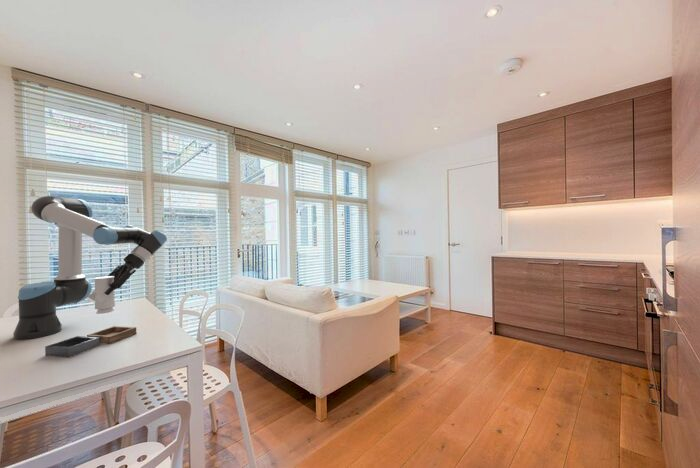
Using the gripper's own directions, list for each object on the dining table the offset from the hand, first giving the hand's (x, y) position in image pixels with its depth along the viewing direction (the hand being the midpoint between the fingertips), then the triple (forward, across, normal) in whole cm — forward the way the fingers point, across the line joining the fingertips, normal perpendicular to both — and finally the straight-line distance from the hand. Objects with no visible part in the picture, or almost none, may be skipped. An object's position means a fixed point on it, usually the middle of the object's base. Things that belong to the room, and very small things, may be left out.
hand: (94, 299), depth 121 cm
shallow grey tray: (+18, -2, -8) cm, 20 cm away
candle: (+2, 0, -7) cm, 7 cm away
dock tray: (+9, +1, -17) cm, 19 cm away
